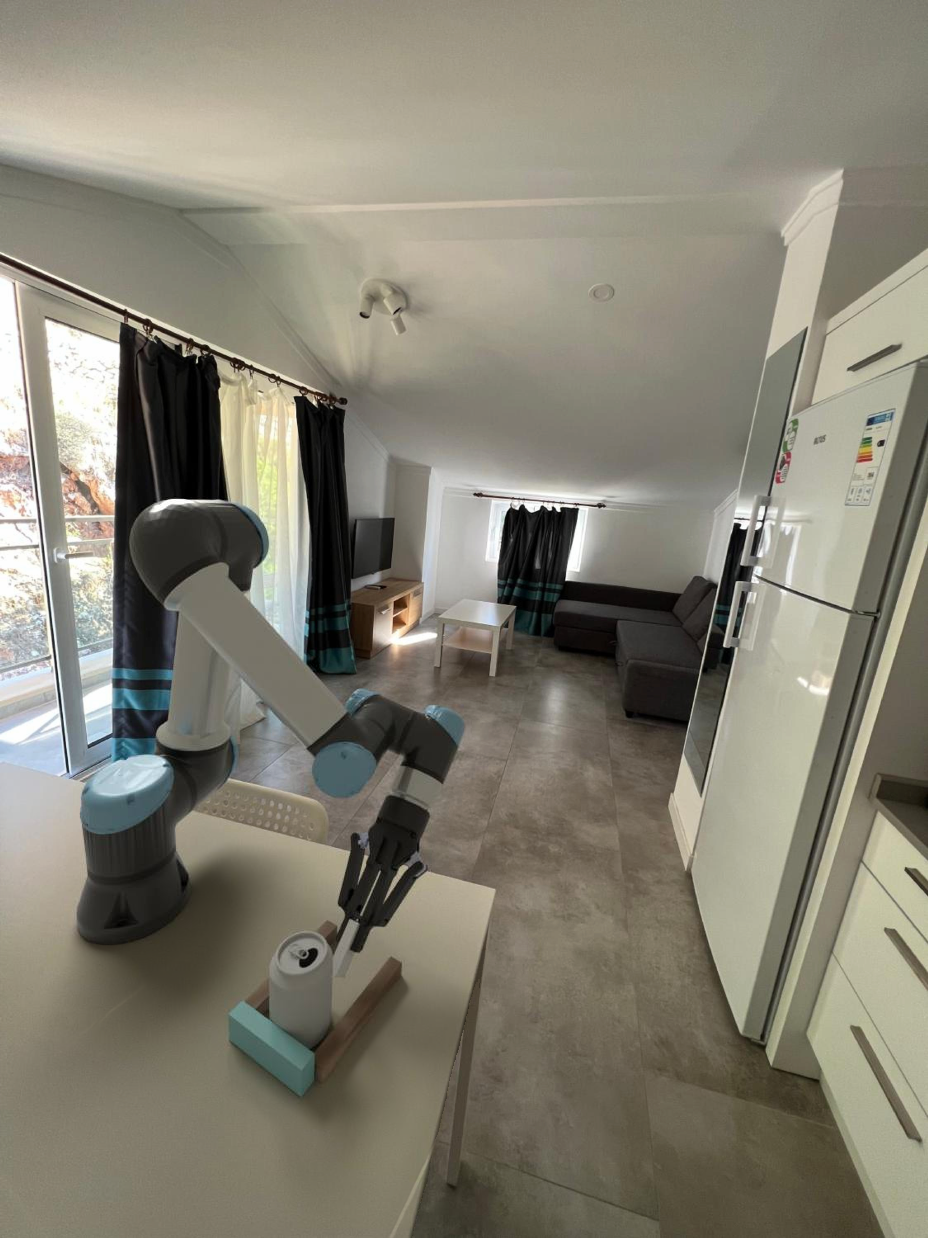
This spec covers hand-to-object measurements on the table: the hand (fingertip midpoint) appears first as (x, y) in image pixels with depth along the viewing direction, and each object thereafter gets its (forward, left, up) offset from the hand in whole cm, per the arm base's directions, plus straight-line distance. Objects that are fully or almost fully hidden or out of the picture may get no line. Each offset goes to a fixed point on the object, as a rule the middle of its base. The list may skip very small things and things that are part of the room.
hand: (335, 975), depth 66 cm
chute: (-1, 0, -4) cm, 4 cm away
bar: (-1, -10, -4) cm, 11 cm away
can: (-1, -5, -4) cm, 7 cm away
